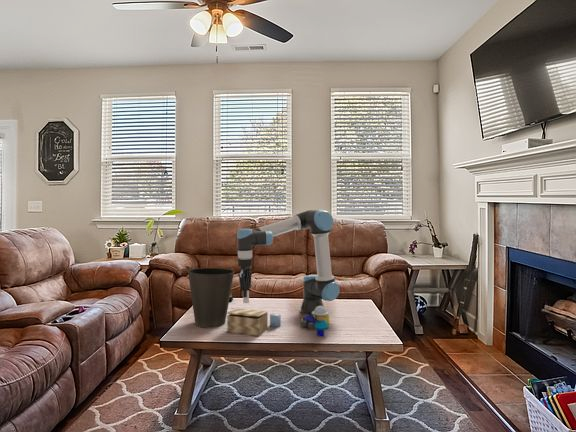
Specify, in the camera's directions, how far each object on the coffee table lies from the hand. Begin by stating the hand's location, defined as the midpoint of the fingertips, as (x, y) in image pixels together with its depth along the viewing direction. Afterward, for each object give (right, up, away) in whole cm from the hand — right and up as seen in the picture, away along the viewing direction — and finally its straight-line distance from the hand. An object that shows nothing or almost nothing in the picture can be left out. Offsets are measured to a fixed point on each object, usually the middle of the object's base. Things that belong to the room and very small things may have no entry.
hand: (246, 302), depth 192 cm
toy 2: (+39, -16, -2) cm, 42 cm away
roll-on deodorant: (+15, -16, +12) cm, 25 cm away
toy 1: (+38, -16, +13) cm, 43 cm away
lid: (+1, -6, +3) cm, 7 cm away
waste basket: (-22, -16, +16) cm, 31 cm away
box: (+1, -16, +3) cm, 16 cm away
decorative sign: (-31, -14, +66) cm, 74 cm away
